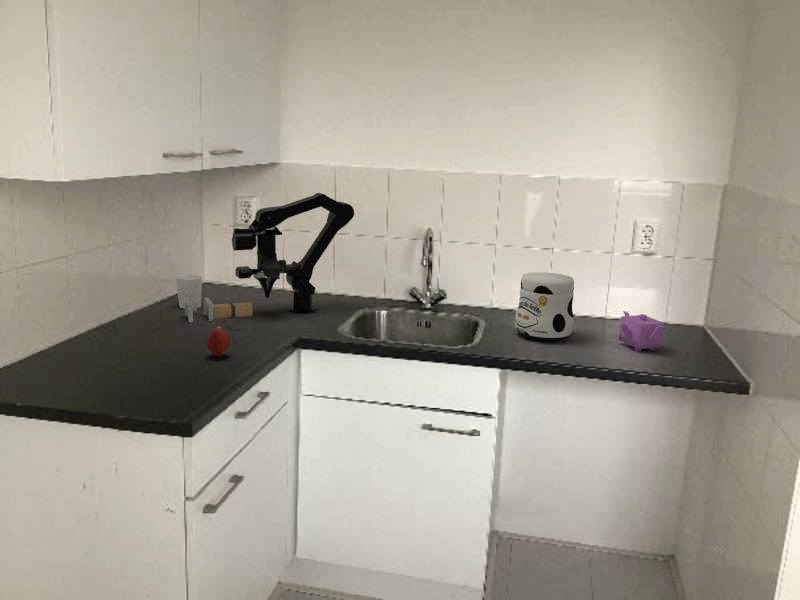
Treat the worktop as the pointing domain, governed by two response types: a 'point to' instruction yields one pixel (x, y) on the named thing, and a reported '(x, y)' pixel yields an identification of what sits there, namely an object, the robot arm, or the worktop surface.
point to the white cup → (189, 289)
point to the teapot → (641, 332)
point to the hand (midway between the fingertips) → (267, 297)
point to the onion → (218, 342)
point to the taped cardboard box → (232, 310)
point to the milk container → (545, 306)
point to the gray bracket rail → (189, 308)
